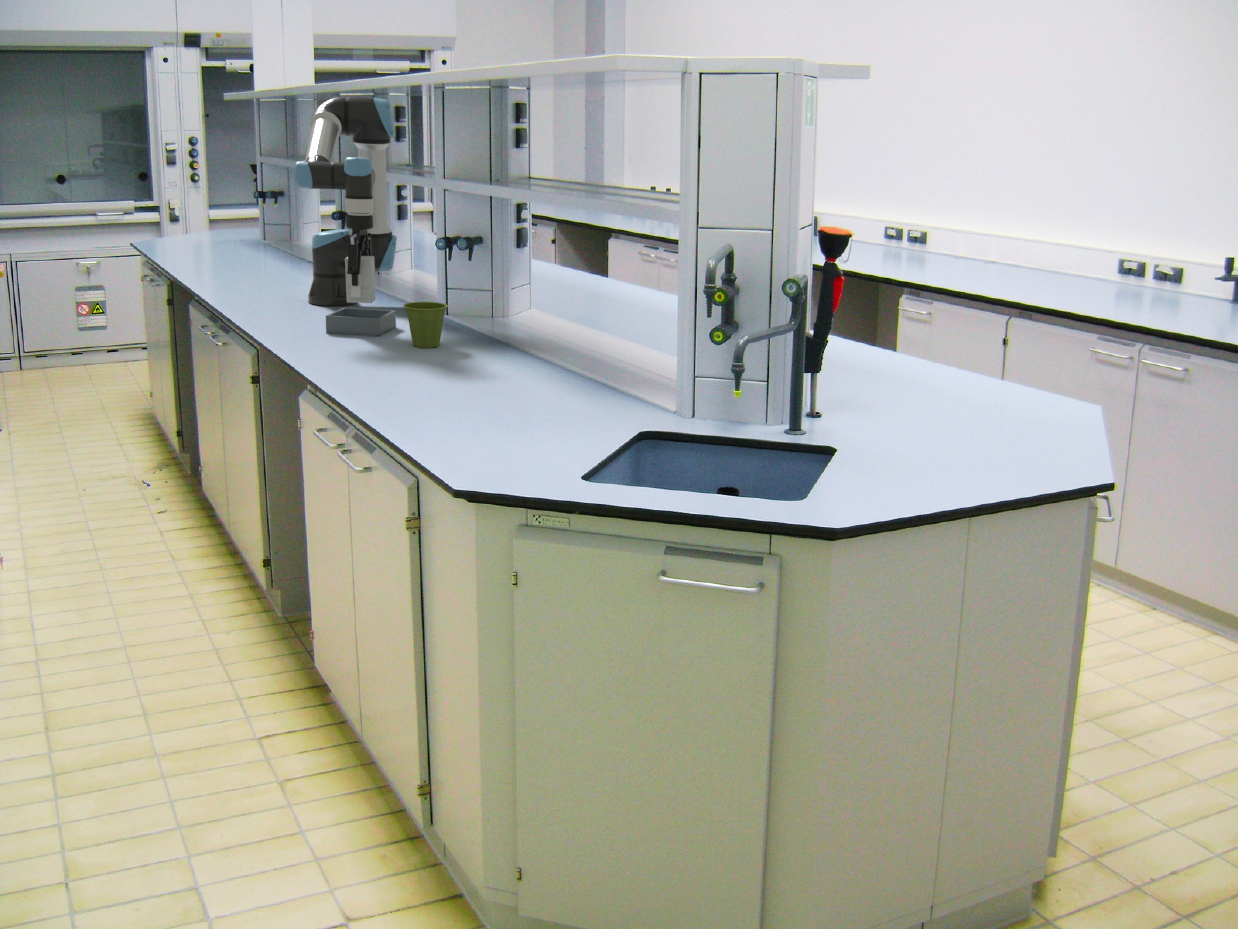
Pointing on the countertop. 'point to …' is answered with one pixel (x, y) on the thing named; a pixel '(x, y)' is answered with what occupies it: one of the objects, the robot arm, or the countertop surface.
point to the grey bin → (361, 322)
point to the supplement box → (363, 281)
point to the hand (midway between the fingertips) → (360, 295)
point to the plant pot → (425, 322)
